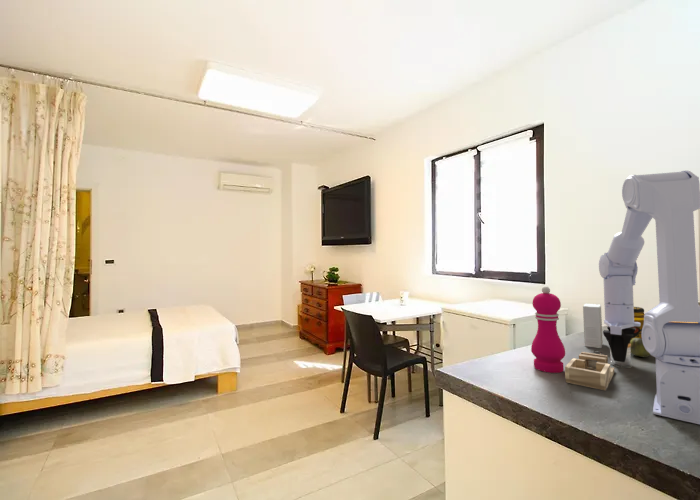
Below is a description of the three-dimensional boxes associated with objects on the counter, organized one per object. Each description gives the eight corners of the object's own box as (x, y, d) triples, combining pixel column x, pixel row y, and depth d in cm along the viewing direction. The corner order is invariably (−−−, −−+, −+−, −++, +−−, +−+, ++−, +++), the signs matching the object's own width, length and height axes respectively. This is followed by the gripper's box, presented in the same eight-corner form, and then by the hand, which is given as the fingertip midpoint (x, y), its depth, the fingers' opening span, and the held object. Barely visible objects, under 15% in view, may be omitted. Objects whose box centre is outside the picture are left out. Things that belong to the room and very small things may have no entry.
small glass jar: (630, 369, 82) (630, 346, 82) (609, 365, 85) (608, 343, 85) (632, 364, 85) (631, 342, 85) (611, 361, 88) (610, 339, 88)
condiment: (623, 352, 95) (622, 309, 95) (612, 344, 103) (610, 304, 103) (656, 354, 93) (654, 309, 93) (641, 346, 101) (640, 305, 101)
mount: (605, 391, 70) (604, 371, 70) (565, 383, 74) (564, 364, 74) (614, 372, 80) (613, 354, 80) (579, 365, 85) (578, 349, 85)
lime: (626, 353, 94) (626, 335, 94) (649, 355, 91) (649, 337, 91) (629, 358, 90) (629, 339, 90) (654, 360, 88) (653, 341, 88)
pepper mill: (531, 371, 82) (529, 287, 82) (531, 362, 88) (529, 285, 89) (567, 375, 79) (564, 288, 79) (564, 366, 85) (561, 285, 85)
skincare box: (585, 341, 106) (584, 303, 106) (602, 343, 104) (601, 304, 104) (583, 346, 102) (582, 305, 102) (601, 348, 99) (600, 307, 99)
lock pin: (598, 370, 78) (597, 360, 78) (586, 367, 80) (586, 358, 80) (603, 361, 84) (603, 352, 84) (592, 359, 86) (592, 350, 86)
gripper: (637, 308, 77) (639, 369, 77) (641, 301, 87) (643, 354, 87) (598, 306, 82) (600, 363, 82) (607, 299, 92) (609, 349, 92)
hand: (620, 358), depth 85 cm, fingers open, 5 cm apart
